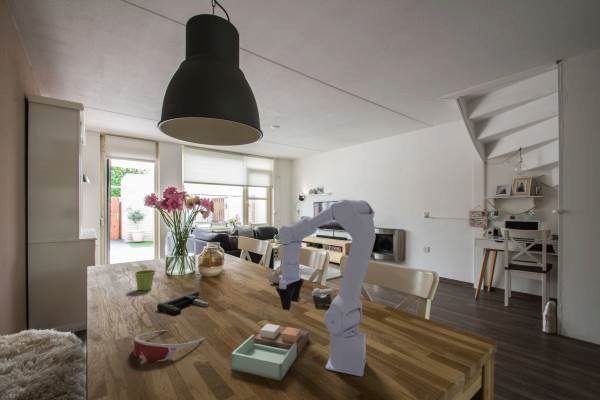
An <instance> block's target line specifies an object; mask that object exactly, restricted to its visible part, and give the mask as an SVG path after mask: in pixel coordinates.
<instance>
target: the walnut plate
mask: <svg viewBox="0 0 600 400" xmlns="http://www.w3.org/2000/svg"><path fill="white" fill-rule="evenodd" d="M287 327H288V326H280V333H279V334H278V335H277V336H276V337H275V338H274V339H273V338H268V337H262V336H261V331H260V332H259V333H258V334H257V335H256V336H254V343H255V344H260V345H265V346H270V347H275V348H280V349H285V350H289V349H290V348H291V347H292V345H293V344H294V343H295V342H289V341H284V340H282V332H283V331H284V330H285V329H286V328H287ZM308 340H309V331H308V330H304V329H301V336H300V338H299V339H298V340H297V342H296V343H297V356H299V355H300V353H301V351H302V349H303V348H304V346H305V345H306V344H307V342H308Z"/></svg>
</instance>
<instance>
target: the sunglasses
mask: <svg viewBox="0 0 600 400" xmlns="http://www.w3.org/2000/svg"><path fill="white" fill-rule="evenodd" d="M169 331H170V329H166V330H165V329H164V330H162V329H161V330H156V331H150V332H145V333H144V332H143V333H140V334H137V335H135V336H134V338H133V355H134V356H135V357H136V359H138V360H139V359H141V357H142V356H144V358H145V359H146V361H147V362H164V361H165V362H166V361H167V360H170V359H171V357H173V356H174V355H175V354H176V351H179V350H182V349H185V348H188V347H191V346H194V345H195V344H197V343H201V342H203V341H204V340H205V339H206V337H203V338H200V339H197V340H193V341H190V342H189V341H188V342H184V343H155V342H148V341H145V340H143V338H146V337H149V336H151V335H155V334H163V333H168V332H169ZM141 339H142V340H141Z"/></svg>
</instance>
